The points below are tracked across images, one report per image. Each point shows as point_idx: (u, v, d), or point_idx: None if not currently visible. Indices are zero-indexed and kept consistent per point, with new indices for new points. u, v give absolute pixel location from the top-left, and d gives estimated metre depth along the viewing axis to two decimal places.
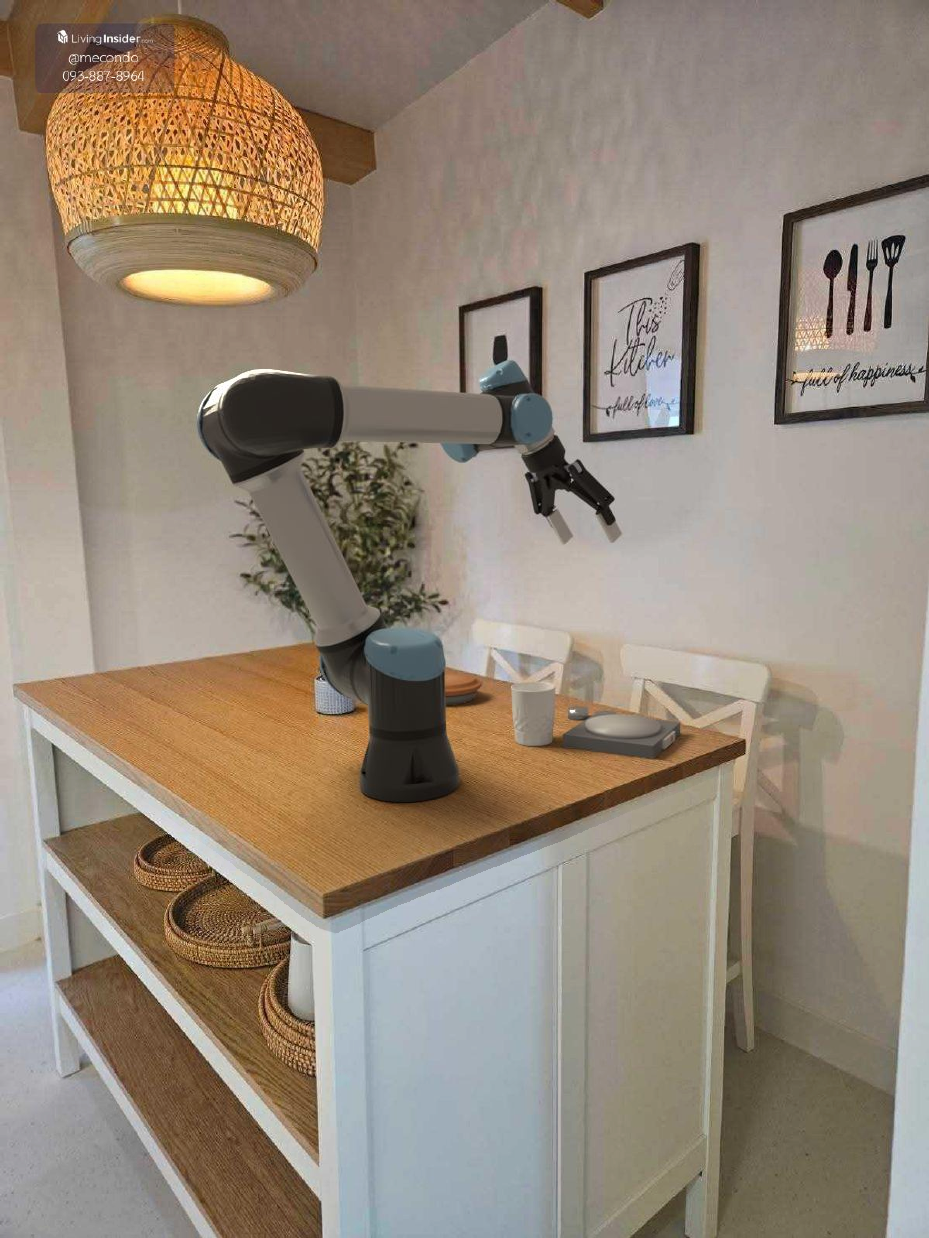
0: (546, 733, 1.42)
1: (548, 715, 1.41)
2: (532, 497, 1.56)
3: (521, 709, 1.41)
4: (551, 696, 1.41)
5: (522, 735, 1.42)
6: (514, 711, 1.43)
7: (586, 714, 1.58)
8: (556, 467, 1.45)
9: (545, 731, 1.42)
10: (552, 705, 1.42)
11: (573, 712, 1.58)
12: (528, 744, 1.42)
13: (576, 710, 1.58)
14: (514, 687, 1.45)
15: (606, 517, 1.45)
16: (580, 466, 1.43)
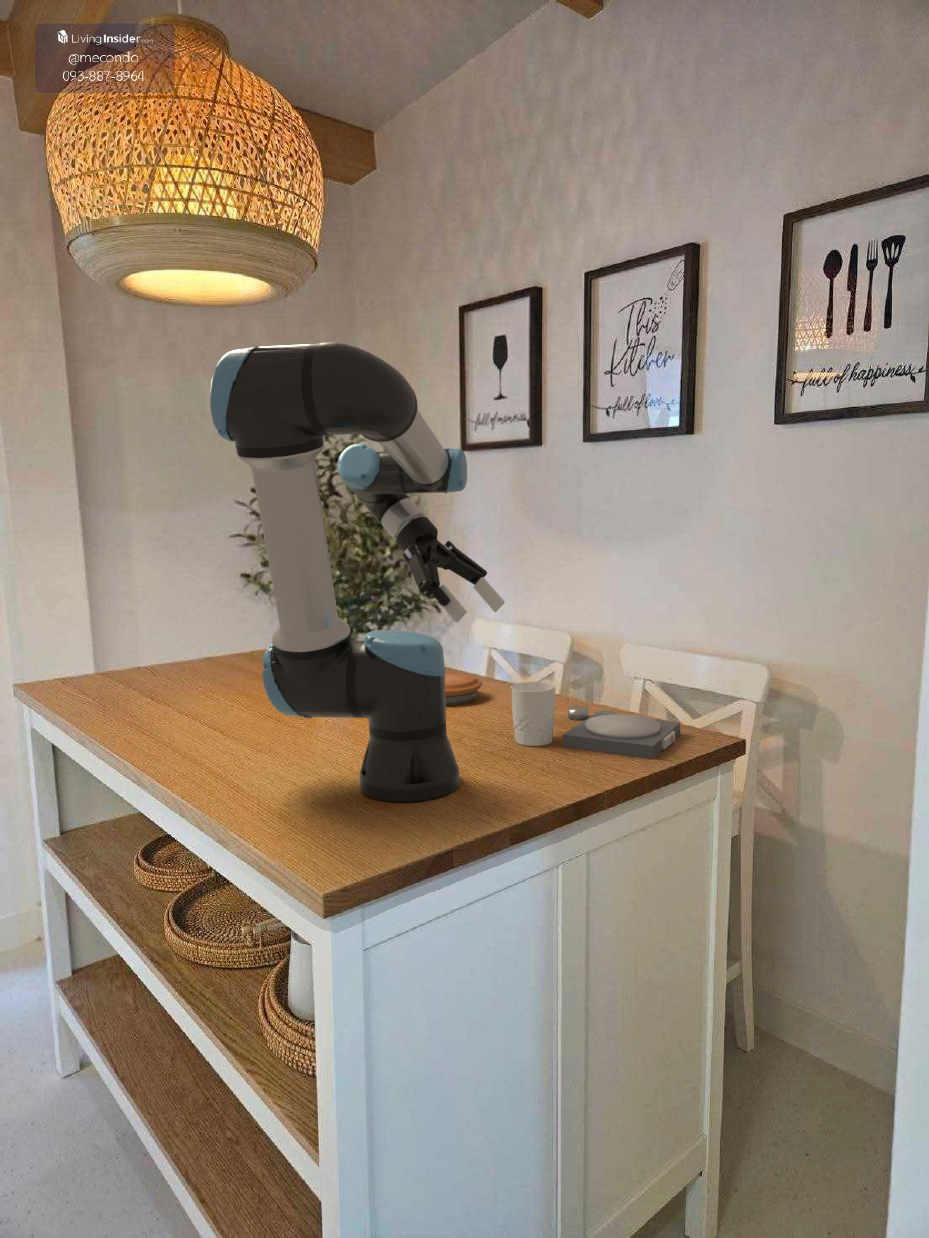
0: (546, 733, 1.42)
1: (548, 715, 1.41)
2: (422, 566, 1.43)
3: (521, 709, 1.41)
4: (551, 696, 1.41)
5: (522, 735, 1.42)
6: (514, 711, 1.43)
7: (586, 714, 1.58)
8: (437, 541, 1.53)
9: (545, 731, 1.42)
10: (552, 705, 1.42)
11: (573, 712, 1.58)
12: (528, 744, 1.42)
13: (576, 710, 1.58)
14: (514, 687, 1.45)
15: None
16: None
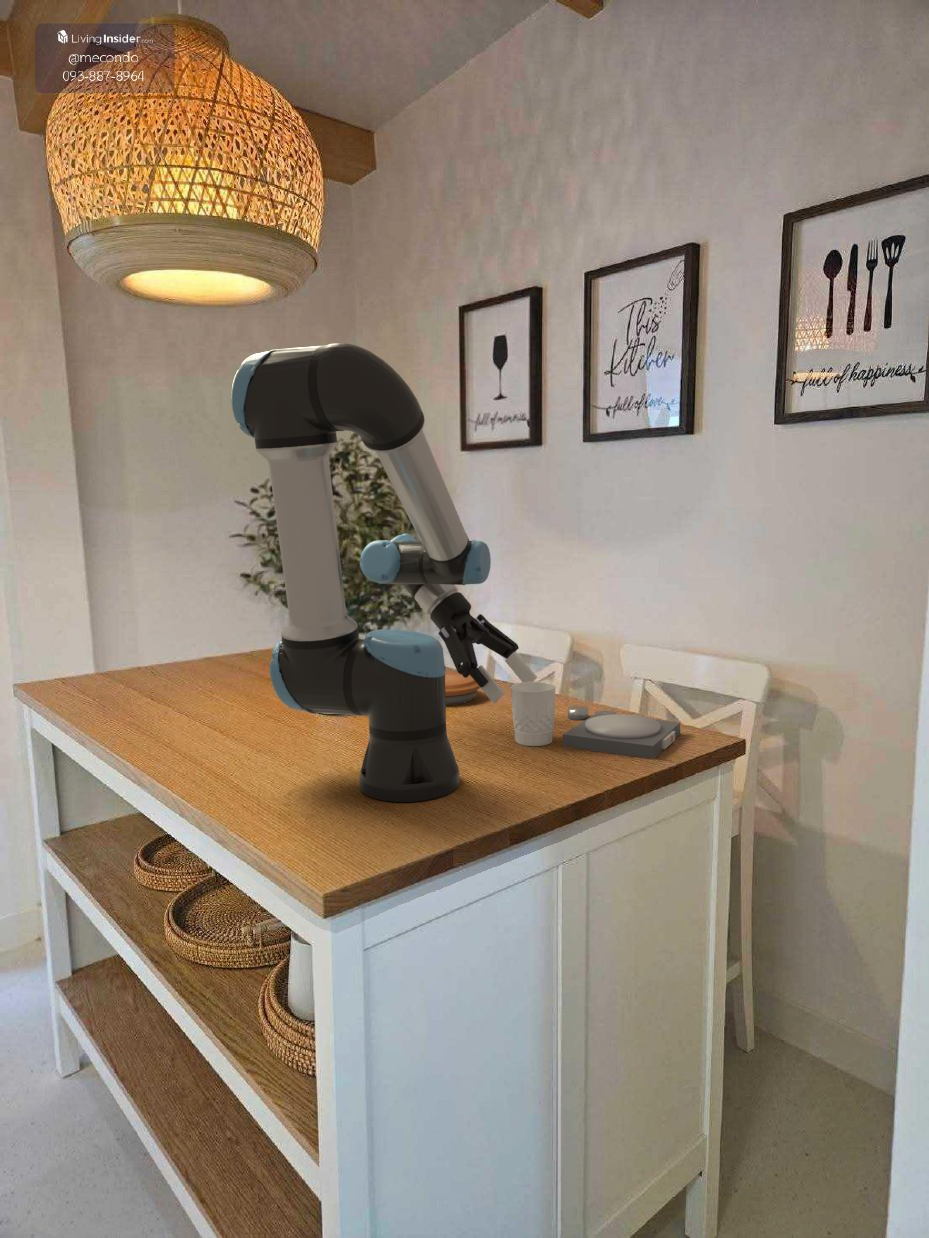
0: (546, 733, 1.42)
1: (548, 715, 1.41)
2: (459, 647, 1.43)
3: (521, 709, 1.41)
4: (551, 696, 1.41)
5: (522, 735, 1.42)
6: (514, 711, 1.43)
7: (586, 714, 1.58)
8: (470, 616, 1.54)
9: (545, 731, 1.42)
10: (552, 705, 1.42)
11: (573, 712, 1.58)
12: (528, 744, 1.42)
13: (576, 710, 1.58)
14: (514, 687, 1.45)
15: None
16: None
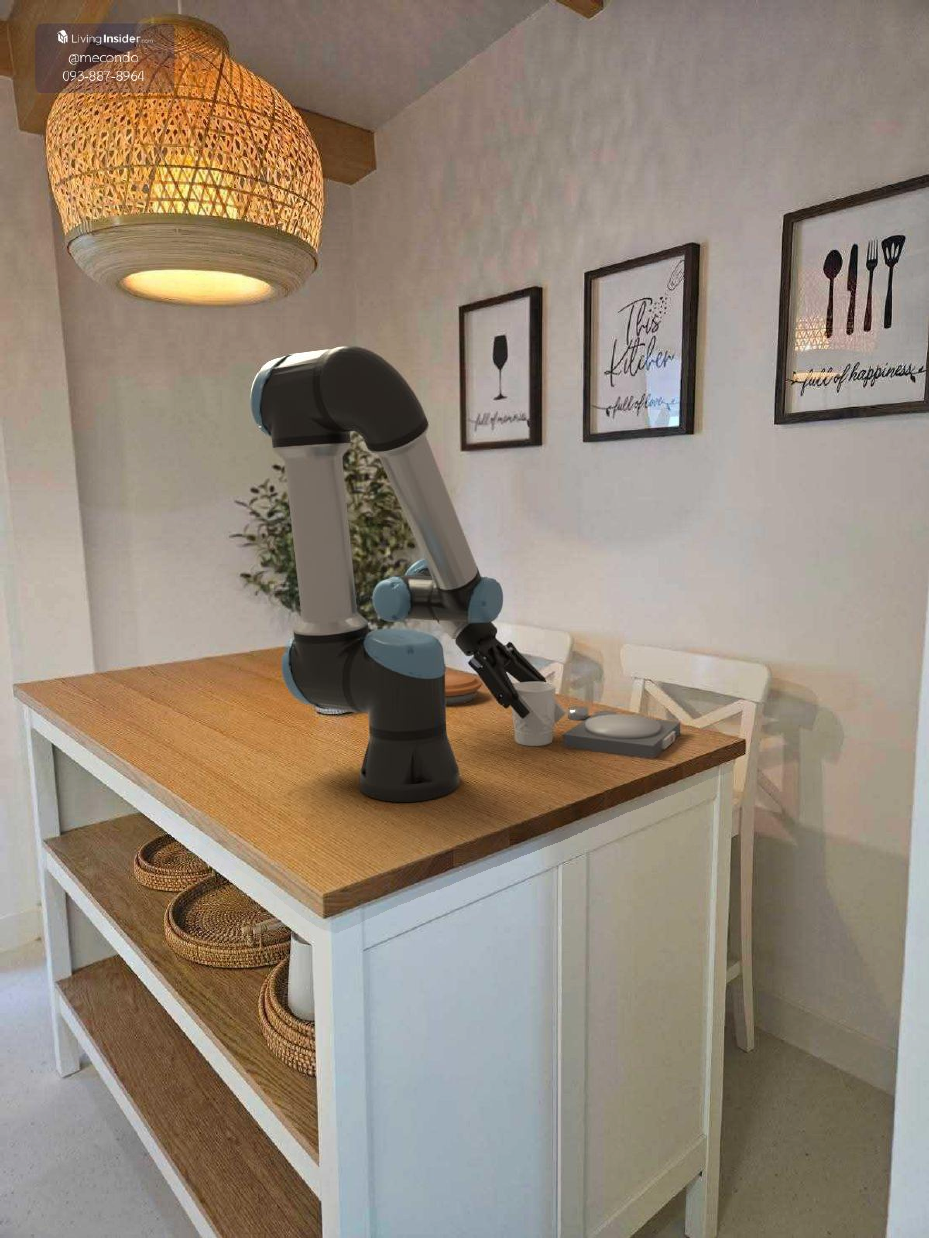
0: (546, 733, 1.42)
1: (548, 715, 1.41)
2: (496, 677, 1.40)
3: None
4: (551, 696, 1.41)
5: (522, 735, 1.42)
6: (514, 711, 1.43)
7: (586, 714, 1.58)
8: (497, 640, 1.50)
9: (545, 731, 1.42)
10: (552, 705, 1.42)
11: (573, 712, 1.58)
12: (528, 744, 1.42)
13: (576, 710, 1.58)
14: (514, 687, 1.45)
15: None
16: None
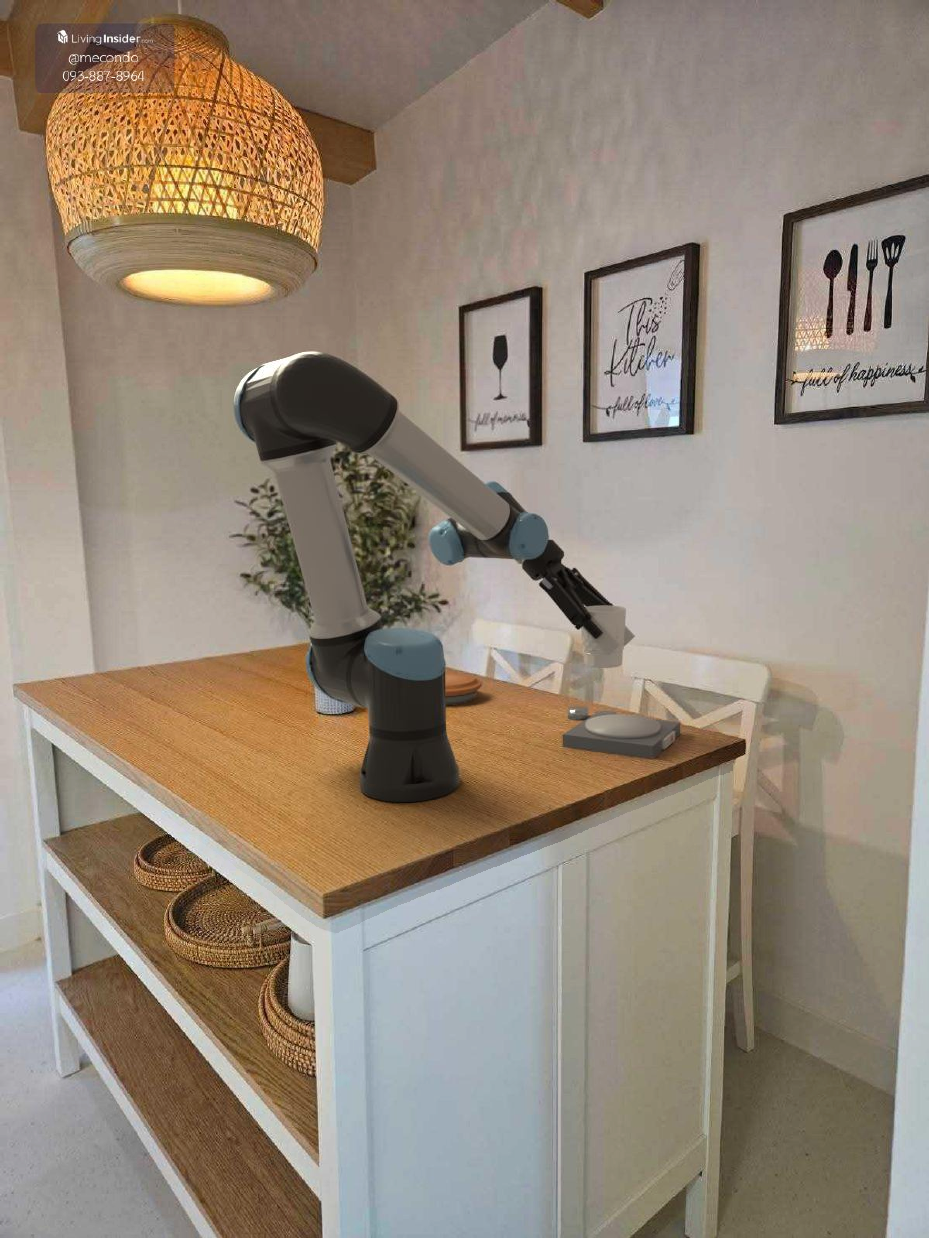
0: (617, 655, 1.41)
1: (619, 636, 1.40)
2: (568, 598, 1.38)
3: None
4: (622, 617, 1.40)
5: (593, 657, 1.41)
6: (584, 633, 1.41)
7: (586, 714, 1.58)
8: (562, 564, 1.48)
9: (616, 652, 1.41)
10: (623, 627, 1.41)
11: (573, 712, 1.58)
12: (599, 666, 1.41)
13: (576, 710, 1.58)
14: None
15: None
16: None
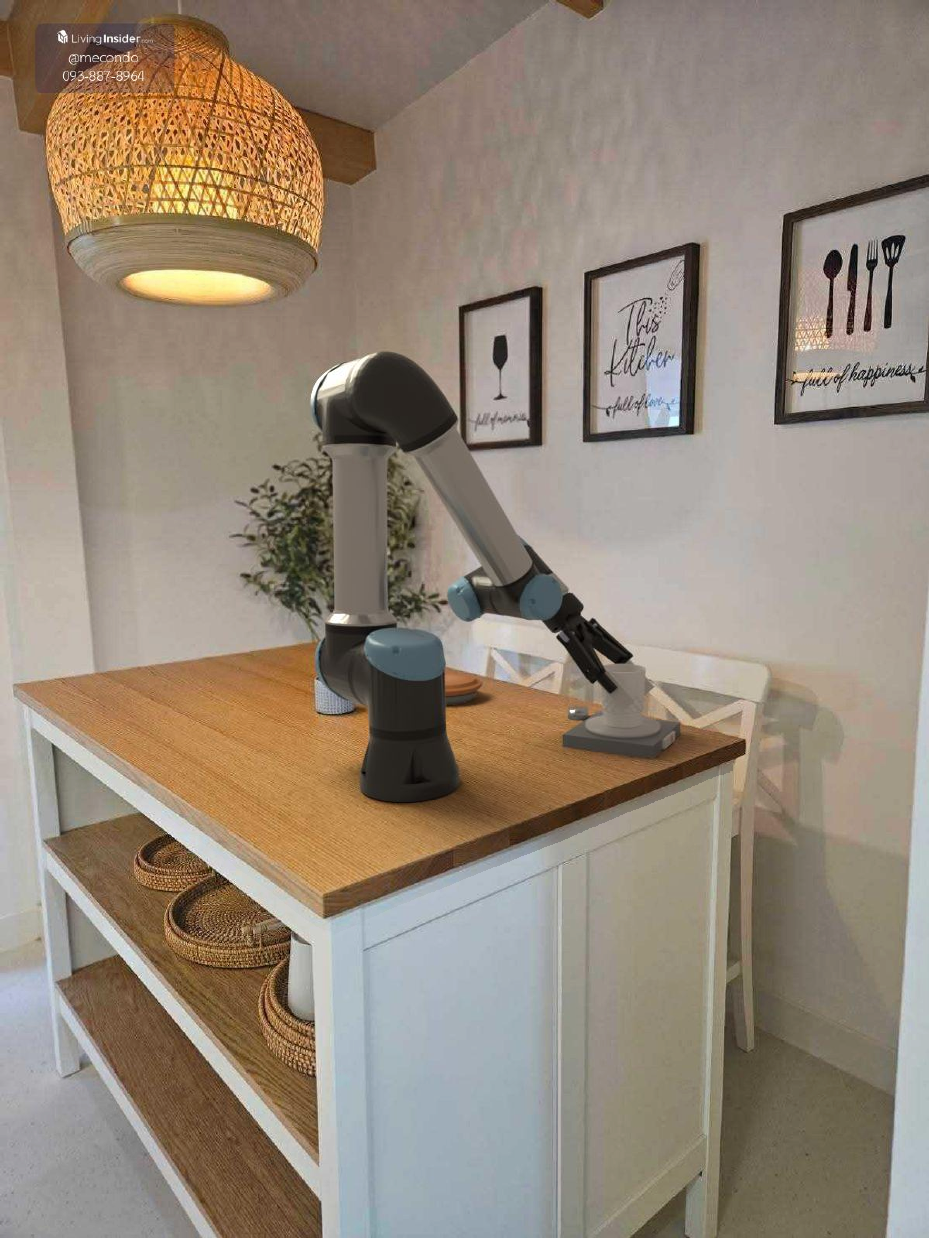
0: (637, 715, 1.41)
1: (639, 697, 1.40)
2: (584, 651, 1.37)
3: None
4: (642, 678, 1.40)
5: (612, 717, 1.41)
6: (604, 693, 1.41)
7: (586, 714, 1.58)
8: (582, 617, 1.48)
9: (636, 713, 1.40)
10: (643, 687, 1.41)
11: (573, 712, 1.58)
12: (618, 726, 1.41)
13: (576, 710, 1.58)
14: None
15: None
16: None
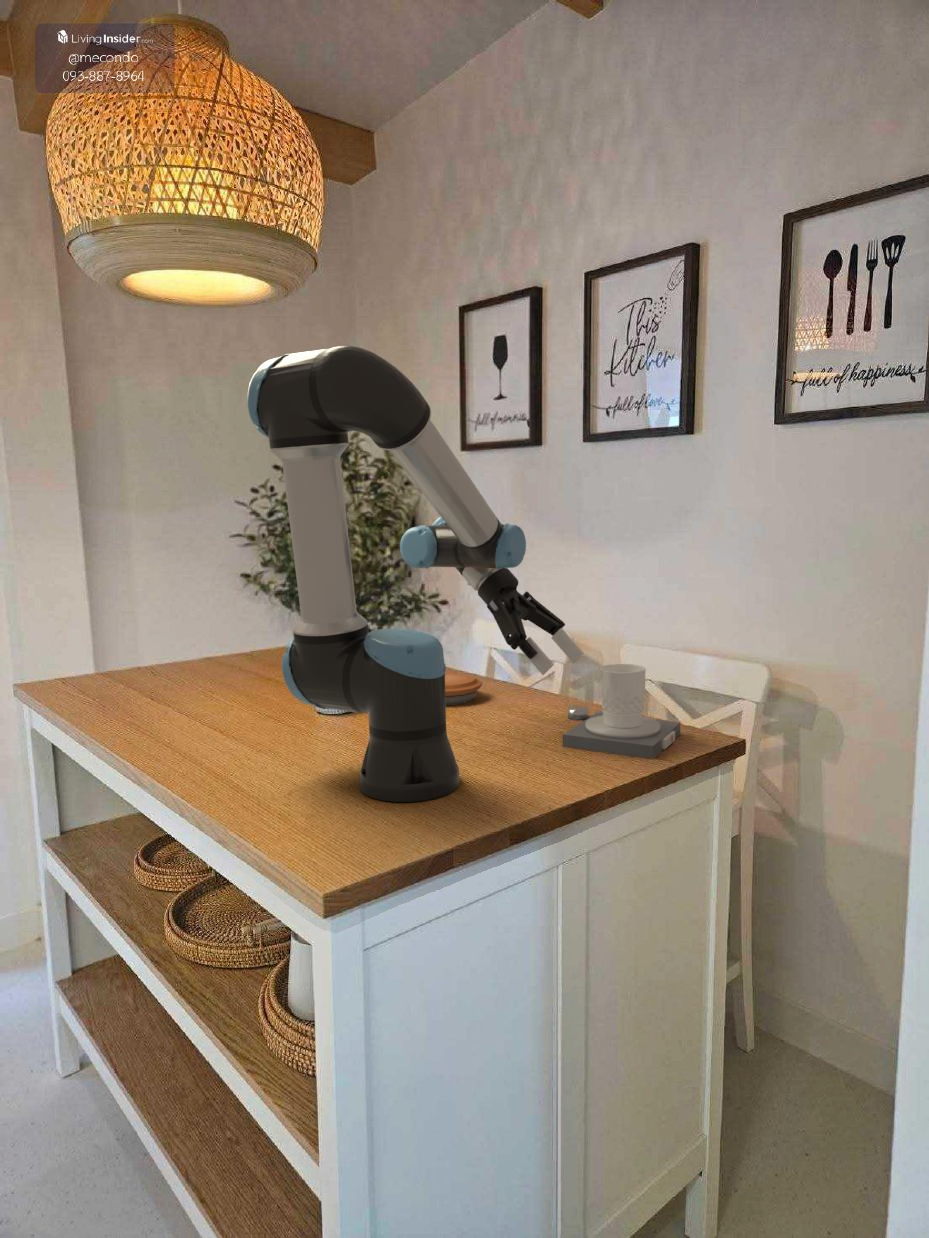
0: (637, 715, 1.41)
1: (639, 697, 1.40)
2: (508, 619, 1.44)
3: (612, 690, 1.40)
4: (642, 678, 1.40)
5: (612, 717, 1.41)
6: (604, 693, 1.41)
7: (586, 714, 1.58)
8: (517, 592, 1.55)
9: (636, 713, 1.40)
10: (643, 687, 1.41)
11: (573, 712, 1.58)
12: (618, 726, 1.41)
13: (576, 710, 1.58)
14: (602, 669, 1.44)
15: None
16: None
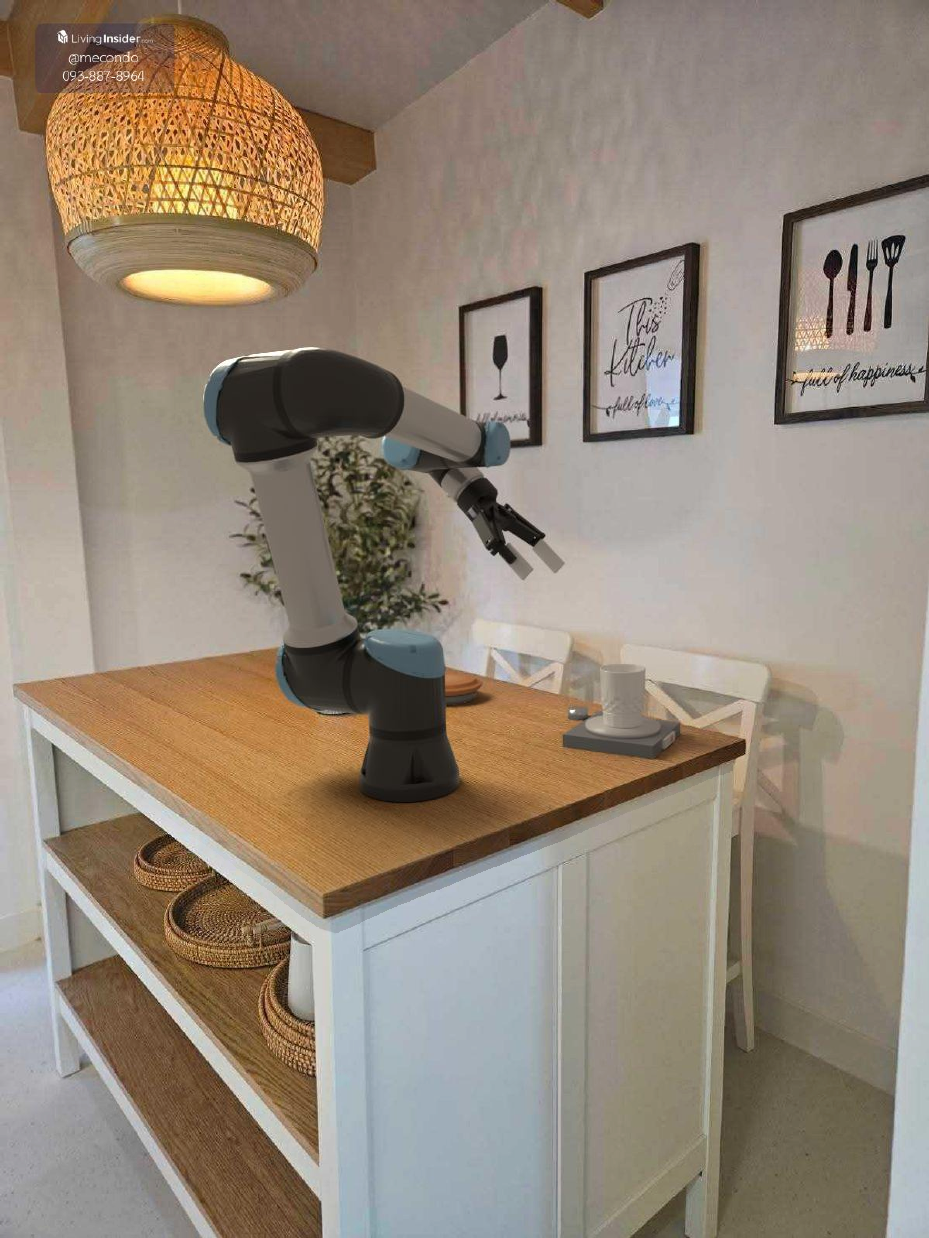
0: (637, 715, 1.41)
1: (639, 697, 1.40)
2: (487, 524, 1.43)
3: (612, 690, 1.40)
4: (642, 678, 1.40)
5: (612, 717, 1.41)
6: (604, 693, 1.41)
7: (586, 714, 1.58)
8: (496, 503, 1.53)
9: (636, 713, 1.40)
10: (643, 687, 1.41)
11: (573, 712, 1.58)
12: (618, 726, 1.41)
13: (576, 710, 1.58)
14: (602, 669, 1.44)
15: None
16: None
